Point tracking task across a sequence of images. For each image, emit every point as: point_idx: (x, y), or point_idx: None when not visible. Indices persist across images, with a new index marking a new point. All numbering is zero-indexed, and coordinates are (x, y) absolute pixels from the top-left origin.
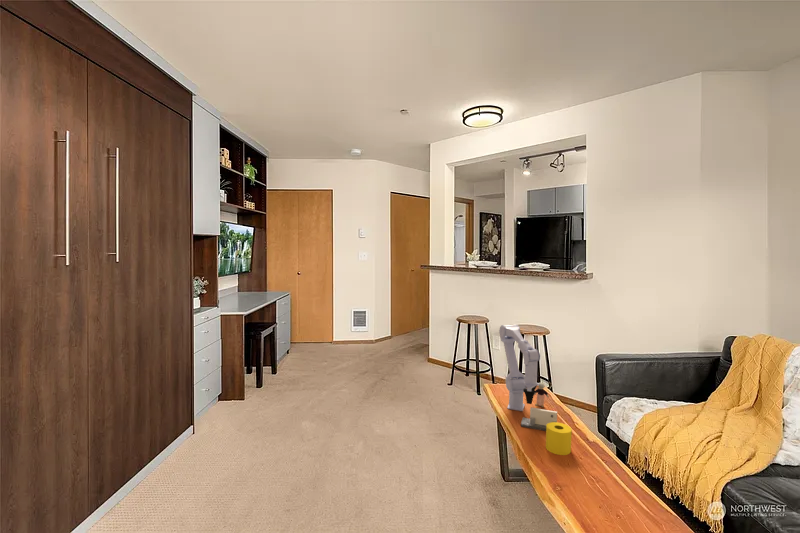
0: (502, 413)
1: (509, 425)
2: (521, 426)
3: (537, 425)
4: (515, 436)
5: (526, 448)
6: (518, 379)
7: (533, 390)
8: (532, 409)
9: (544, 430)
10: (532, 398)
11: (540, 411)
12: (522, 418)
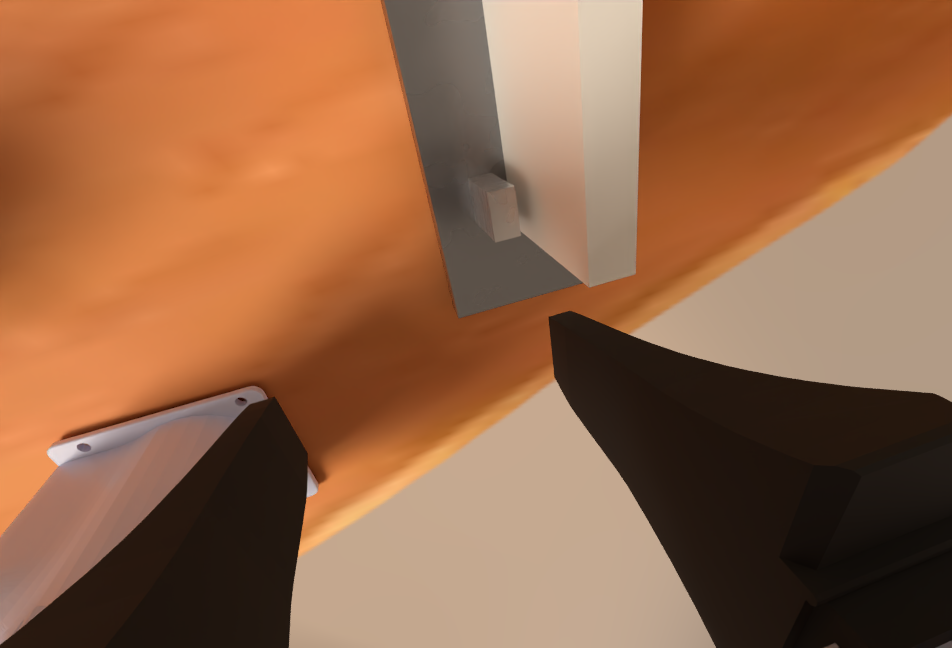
0: (436, 463)
1: None
2: None
3: None
4: (779, 233)
5: (949, 88)
6: None
7: (840, 533)
8: (630, 239)
9: None
10: (670, 351)
11: (626, 99)
12: (485, 310)
